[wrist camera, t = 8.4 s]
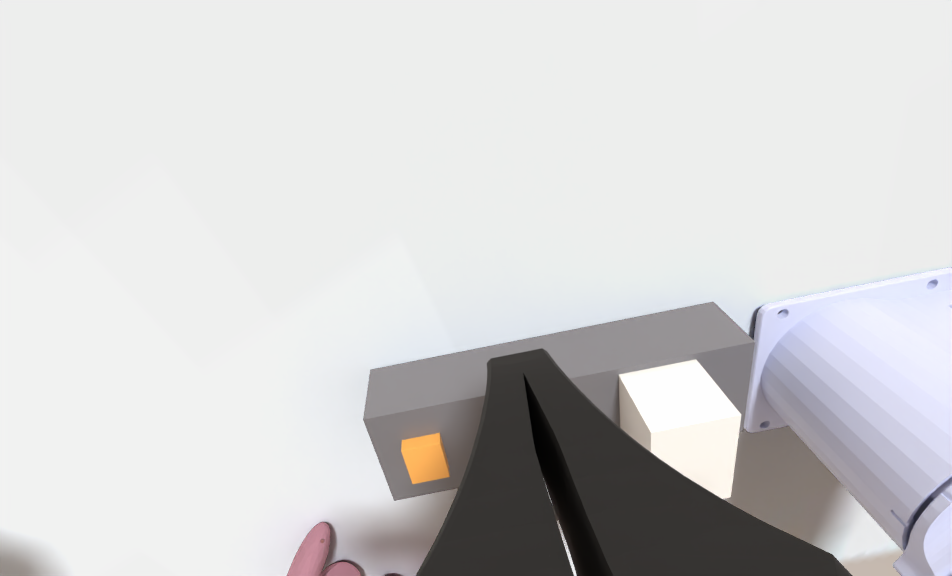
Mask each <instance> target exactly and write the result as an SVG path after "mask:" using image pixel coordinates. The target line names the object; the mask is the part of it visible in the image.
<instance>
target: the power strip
mask: <svg viewBox="0 0 952 576" xmlns="http://www.w3.org/2000/svg"><path fill="white" fill-rule="evenodd" d="M754 346H755V341H754V340H753V339H752V338H751V337H750V336H749V335H748V334H747V333H745V332H744V331H743V330H742V329H741V328H740V327H739V326H738V325H737V324H736V323H735V322H734V321H733V320H732V319H731V318H730V317H729V316H728V315H727V314H726V313H725V312H724V311H723V310H721V309H720V308H719V307H718V306H717V305H716V304H715V303H714V302H710V303H705V304H700V305H695V306H690V307H685V308H680V309H675V310H670V311H665V312H660V313H655V314H650V315H645V316H640V317H634V318H629V319H624V320H619V321H614V322H609V323H604V324H599V325H594V326H589V327H584V328H579V329H574V330H569V331H564V332H559V333H554V334H549V335H544V336H539V337H534V338H529V339H524V340H518V341H513V342H508V343H503V344H498V345H493V346H488V347H483V348H478V349H473V350H468V351H463V352H458V353H453V354H448V355H443V356H438V357H433V358H428V359H423V360H418V361H413V362H408V363H402V364H397V365H392V366H387V367H382V368H377V369H372V370H370V376H369V383H368V390H367V397H366V404H365V411H364V418H363V420H364V423H365V425H366V428H367V431H368V433H369V436H370V438H371V441H372V444H373V446H374V449H375V452H376V454H377V457H378V459H379V462H380V465H381V467H382V470H383V472H384V475H385V478H386V480H387V483H388V486H389V488H390V491H391V493H392V496H393V499H394V501H395V500H400V499H405V498H410V497H415V496H420V495H425V494H430V493H435V492H440V491H445V490H450V489H455V488H459V486H460V484H461V481H462V479H463V476H464V473H465V470H466V467H467V464H468V462H469V459H470V455H471V452H472V448H473V445H474V442H475V438H476V435H477V431H478V427H479V423H480V419H481V414H482V409H483V404H484V399H485V392H486V384H487V362H488V361H489V360H490V359H491V358H495V357H500V356H505V355H510V354H516V353H521V352H526V351H531V350H536V349H541V348H543V349H544V350H546V351H547V352H548V353H549V355H550V356H551V357H552V359H553V360H554V361H555V363H556V364H557V365H558V366H559V367H560V369H561V370H562V371H563V372H564V373H565V374H566V376H567V377H568V378H569V379H570V380H571V381H572V382H573V383H574V384H575V385H576V386H577V388H578V389H579V390H580V391H581V392H582V393H583V394H584V395H585V396H586V397H587V398H588V399H589V400H590V401H591V402H592V403H593V404H594V405H595V406H596V407H598V408H599V409H600V410H601V411H602V412H603V413H604V414H605V415H606V416H607V417H608V418H610V419H611V420H612V421H613V422H614V423H615V424H616V425H618V426H619V427H620V428H621V429H622V430H623V431H625V432H626V433H627V434H628V435H629V436H631V437H632V438H633V439H634V440H636V441H637V442H638V443H639V444H641V445H642V446H643V447H645V448H646V449H647V450H649V451H650V452H651V453H653V454H654V455H655V456H657V457H658V458H659V459H661V460H662V461H664V462H665V463H667V464H668V465H669V466H671V467H672V468H674V469H675V470H677V471H678V472H679V473H681V474H682V475H684V476H686V477H687V478H689V479H690V480H692V481H694V482H695V483H697V484H699V485H700V486H702V487H703V488H705V489H707V490H708V491H710V492H712V493H713V494H715V495H717V496H718V497H720V498H721V499H725V498H730V497H731V491H732V483H733V476H734V468H735V460H736V452H737V445H738V437H739V432H741V431H743V427H744V420H745V413H746V405H747V398H748V390H749V383H750V376H751V368H752V361H753V353H754ZM552 509H553V512H554V515H555V518H556V521H557V520H558V517H557V514H556V511H555V509H554V506H552Z"/></svg>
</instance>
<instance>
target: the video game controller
mask: <svg viewBox="0 0 952 576" xmlns="http://www.w3.org/2000/svg"><path fill="white" fill-rule="evenodd" d="M329 545H330V528H329V525H328V524H327V523H325V522H321V523H319V524H317V525H316V526H315V527H314V528H313V529H312V530H311V531H310V532H309V533H308V534H307V536H306V538H305V539H304V541H303V542H302V544H301V546H300V548H299V549H298V551H297V553H296V555H295V557H294V560H293V562H292V564H291V567H290V569H289V572H288V574H287V576H361V575H360V573H359V571H358V569H357V568H356V567H355V566H353V565H352V564H350V563H347V562H337V563H334V564H331V565H329V566H328V567H327V568H326V569H325V570H324V571H323V572H322V570H323V567H324V564H325V562H326V559H327V556H328V552H329Z"/></svg>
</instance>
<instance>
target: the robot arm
mask: <svg viewBox="0 0 952 576" xmlns="http://www.w3.org/2000/svg"><path fill="white" fill-rule="evenodd" d="M781 310H782V312H780V311H781ZM779 312H780V313H779ZM778 313H779V314H778ZM754 341H755V346H754V353H753V361H752V368H751V376H750V383H749V390H748V398H747V405H746V413H745V420H744V428H745V429H746V431H747V432H749V433H756V432H761V431H766V430H771V429H776V428H781V427H786V426H789V427H790V428H791V429H792V430H793V431H794V432H795V433H796V434H797V435H798V437H799V438H800V439H801V440H802V441H803V442H804V443H805V444H806V445H807V446H808V448H809V449H810V450H811V451H812V452H813V453H814V454H815V455H816V456H817V457H818V459H819V460H820V461H821V462H822V463H823V464H824V465H825V466H826V467H827V468H828V469H829V471H830V472H831V473H832V474H833V475H834V476H835V477H836V478H837V479H838V480H839V482H840V483H841V484H842V485H843V486H844V487H845V488H846V489H847V490H848V491H849V493H850V494H851V495H852V496H853V497H854V498H855V499H856V500H857V501H858V502H859V504H860V505H861V506H862V507H863V508H864V509H865V510H866V511H867V512H868V513H869V515H870V516H871V517H872V518H873V519H874V520H875V521H876V522H877V523H878V524H879V526H880V527H881V528H882V529H883V530H884V531H885V532H886V533H887V534H888V535H889V537H890V538H891V539H892V540H893V541H894V542H895V543H896V544H897V545H898V546H899V548H900V549H901V550H902V551H903V552H904V553H903V554H902V555H901V556H900V557H899V558H898V559H897V560H896V561H895V562H894V563H893V567H894V568H895V569H896V570H897V572H898V573H899V574H900V575H901V576H952V267H949V268H944V269H939V270H934V271H929V272H924V273H919V274H914V275H908V276H903V277H898V278H893V279H888V280H883V281H878V282H873V283H868V284H863V285H858V286H853V287H848V288H843V289H838V290H833V291H828V292H823V293H818V294H813V295H808V296H803V297H798V298H793V299H788V300H782V301H777V302H772V303H768V304H765V305H764V306H762V307H761V308H760V309H759V310H758V313H757V318H756V326H755V333H754ZM543 478H544V479H543ZM544 481H545V482H544ZM545 484H546V485H545ZM546 486H547V489H548V492H549V495H550V498H551V500H552V503H553V506H554V509H555V511H556V514H557V517H558V520H559V523H560V525H561V528H562V531H563V534H564V537H565V539H566V542H567V545H568V548H569V551H570V554H571V557H572V560H573V564H574V567H575V570H576V574H577V576H852V575H851V574H850V573H849V572H848V571H847V570H846V569H845V568H844V566H843V565H842V564H841V563H840V562H839V561H838V560H837V559H836V558H835V557H834V556H833V555H832V554H830V553H828V552H826V551H824V550H822V549H820V548H817V547H815V546H813V545H811V544H809V543H807V542H805V541H803V540H800V539H798V538H796V537H794V536H792V535H790V534H788V533H786V532H784V531H781V530H779V529H777V528H775V527H773V526H771V525H769V524H767V523H765V522H763V521H761V520H759V519H757V518H755V517H753V516H752V515H750V514H748V513H746V512H744V511H742V510H741V509H739V508H737V507H735V506H733V505H731V504H730V503H728V502H726V501H725V500H723V499H721V498H720V497H718V496H717V495H715V494H713V493H712V492H710V491H708V490H707V489H705V488H703V487H702V486H700V485H699V484H697V483H695V482H694V481H692V480H690V479H689V478H687V477H686V476H684V475H682V474H681V473H679V472H678V471H677V470H675V469H674V468H672V467H671V466H669V465H668V464H667V463H665V462H664V461H662V460H661V459H659V458H658V457H657V456H655V455H654V454H653V453H651V452H650V451H649V450H647V449H646V448H645V447H643V446H642V445H641V444H639V443H638V442H637V441H636V440H634V439H633V438H632V437H631V436H629V435H628V434H627V433H626V432H625V431H623V430H622V429H621V428H620V427H619V426H618V425H616V424H615V423H614V422H613V421H612V420H611V419H610V418H608V417H607V416H606V415H605V414H604V413H603V412H602V411H601V410H600V409H599V408H598V407H596V406H595V405H594V404H593V403H592V402H591V401H590V400H589V399H588V398H587V397H586V396H585V395H584V394H583V393H582V392H581V391H580V390H579V389H578V388H577V386H576V385H575V384H574V383H573V382H572V381H571V380H570V379H569V378H568V377H567V376H566V374H565V373H564V372H563V371H562V370H561V369H560V367H559V366H558V365H557V364H556V363H555V361H554V360H553V359H552V357H551V356H550V355H549V353H548V352H547V351H546V350H544V349H543V348H541V349H536V350H531V351H526V352H521V353H516V354H510V355H505V356H500V357H495V358H491V359H490V360H489V361H488V362H487V384H486V392H485V399H484V404H483V409H482V414H481V419H480V423H479V427H478V431H477V435H476V438H475V442H474V445H473V448H472V452H471V455H470V459H469V462H468V464H467V467H466V470H465V473H464V476H463V479H462V481H461V484H460V486H459V489H458V491H457V494H456V496H455V499H454V501H453V503H452V505H451V508H450V510H449V512H448V514H447V517H446V519H445V521H444V523H443V526H442V528H441V530H440V532H439V534H438V536H437V538H436V540H435V542H434V544H433V546H432V547H431V549H430V551H429V553H428V555H427V556H426V558H425V560H424V562H423V564H422V566H421V567H420V569H419V571H418V573H417V575H416V576H574V575H573V572H572V569H571V566H570V563H569V559H568V556H567V553H566V550H565V547H564V544H563V541H562V537H561V534H560V531H559V528H558V525H557V522H556V518H555V515H554V512H553V509H552V505H551V502H550V499H549V495H548V492H547V489H546Z"/></svg>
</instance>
